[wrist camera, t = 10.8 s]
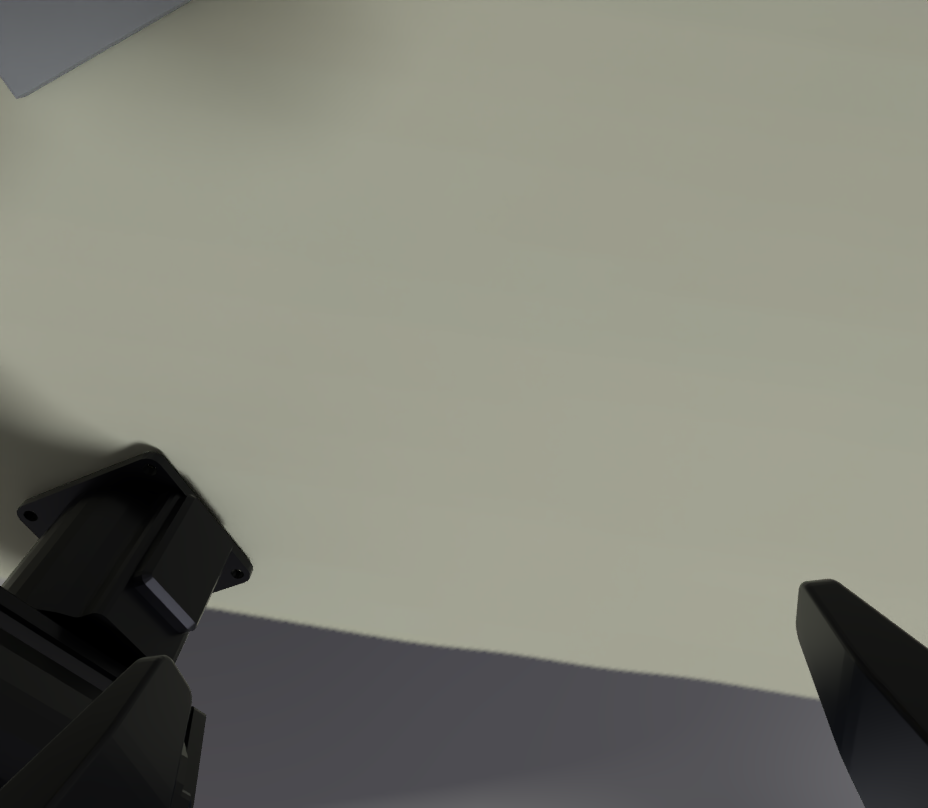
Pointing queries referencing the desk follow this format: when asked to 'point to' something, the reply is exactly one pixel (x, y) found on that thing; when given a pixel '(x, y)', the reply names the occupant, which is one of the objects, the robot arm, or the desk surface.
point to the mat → (65, 35)
